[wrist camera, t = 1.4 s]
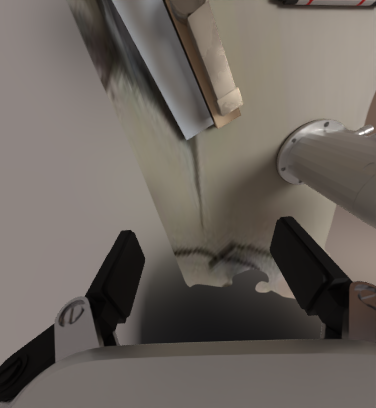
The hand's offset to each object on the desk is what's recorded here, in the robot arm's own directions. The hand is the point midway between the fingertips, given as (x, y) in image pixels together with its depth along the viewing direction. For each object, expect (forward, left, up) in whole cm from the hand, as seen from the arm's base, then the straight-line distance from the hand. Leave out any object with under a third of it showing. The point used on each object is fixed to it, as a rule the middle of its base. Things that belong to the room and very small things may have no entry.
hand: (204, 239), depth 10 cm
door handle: (-8, -11, -20) cm, 24 cm away
